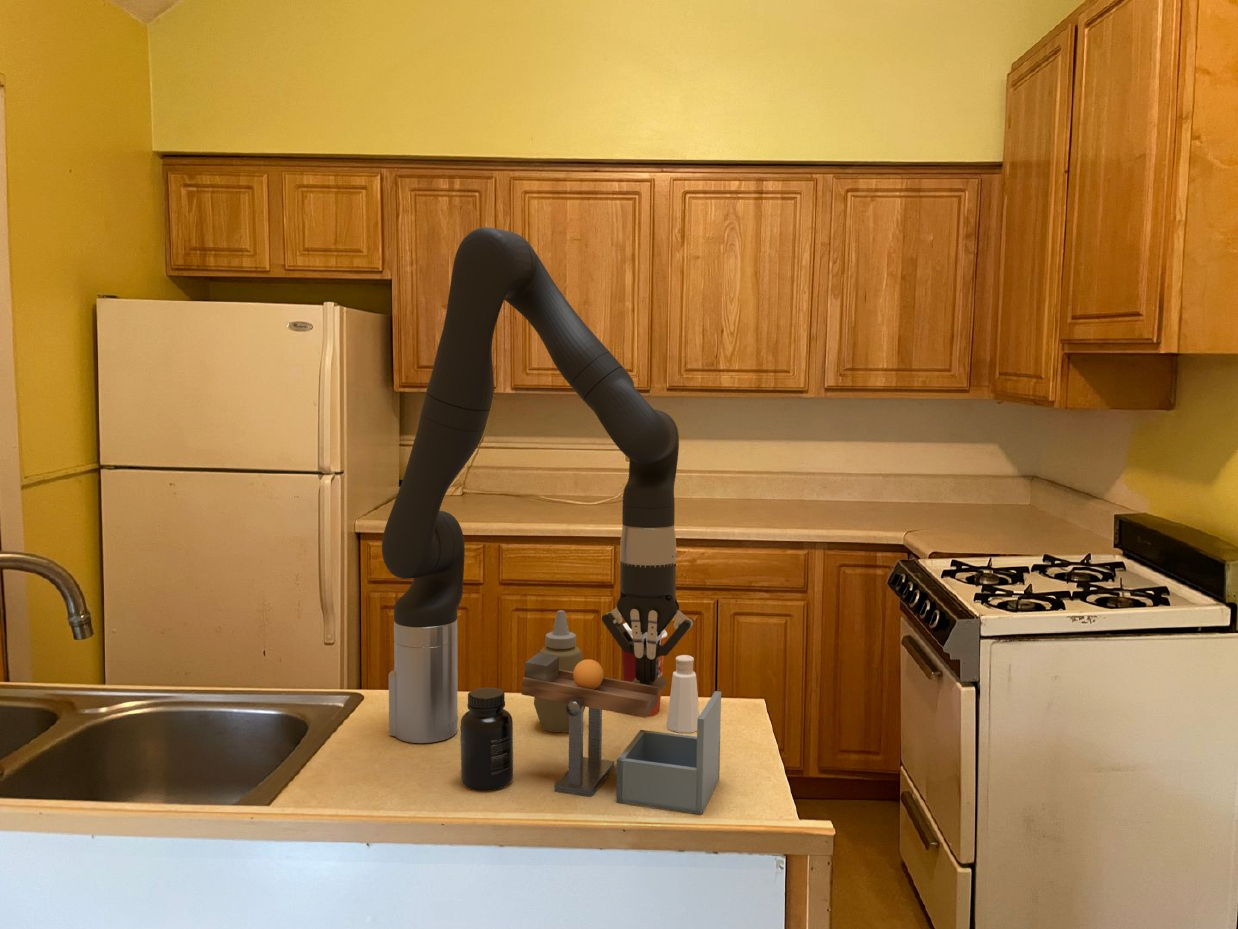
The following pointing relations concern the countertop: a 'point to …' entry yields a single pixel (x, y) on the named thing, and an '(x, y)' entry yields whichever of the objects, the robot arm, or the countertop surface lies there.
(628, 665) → the paper cup
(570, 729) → the pivot stand
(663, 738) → the cup
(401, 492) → the robot arm
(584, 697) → the lever
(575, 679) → the ball
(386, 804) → the countertop surface
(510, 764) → the supplement bottle
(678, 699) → the salt shaker
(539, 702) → the squeeze bottle
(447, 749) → the countertop surface
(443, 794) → the countertop surface
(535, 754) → the countertop surface
